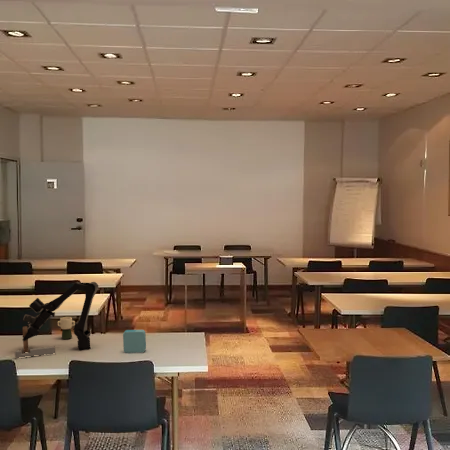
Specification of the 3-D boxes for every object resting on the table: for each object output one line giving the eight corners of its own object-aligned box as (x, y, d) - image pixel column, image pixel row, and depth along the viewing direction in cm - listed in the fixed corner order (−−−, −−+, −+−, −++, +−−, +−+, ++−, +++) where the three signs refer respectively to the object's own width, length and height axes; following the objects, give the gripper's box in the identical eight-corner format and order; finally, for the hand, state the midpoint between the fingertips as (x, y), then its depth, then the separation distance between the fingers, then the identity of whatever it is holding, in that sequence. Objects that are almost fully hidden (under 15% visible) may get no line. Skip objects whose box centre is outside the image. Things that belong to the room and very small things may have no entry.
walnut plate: (28, 349, 316) (27, 326, 315) (28, 353, 309) (27, 328, 308) (23, 350, 315) (22, 326, 314) (23, 353, 308) (22, 329, 308)
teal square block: (146, 350, 309) (145, 329, 308) (144, 352, 304) (144, 331, 303) (125, 350, 309) (124, 329, 308) (123, 353, 304) (122, 331, 304)
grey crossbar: (55, 353, 307) (54, 346, 307) (55, 354, 305) (55, 347, 305) (15, 357, 300) (15, 350, 300) (15, 359, 298) (15, 352, 298)
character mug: (77, 337, 342) (76, 316, 342) (73, 340, 335) (72, 319, 334) (60, 337, 343) (59, 316, 342) (56, 340, 336) (55, 319, 335)
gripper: (31, 306, 321) (12, 326, 318) (31, 312, 303) (11, 334, 300) (45, 318, 324) (27, 338, 321) (46, 324, 306) (27, 346, 303)
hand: (22, 339), depth 311 cm, fingers closed on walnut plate, 7 cm apart
